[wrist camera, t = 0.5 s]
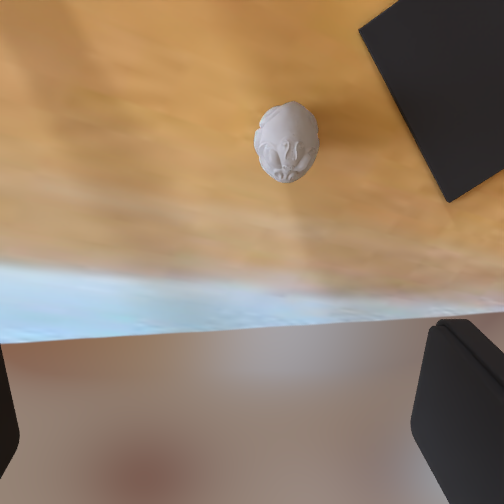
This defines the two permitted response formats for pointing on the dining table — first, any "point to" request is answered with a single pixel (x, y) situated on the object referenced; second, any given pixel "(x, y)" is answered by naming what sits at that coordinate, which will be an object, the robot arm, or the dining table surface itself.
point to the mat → (446, 83)
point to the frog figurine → (287, 141)
